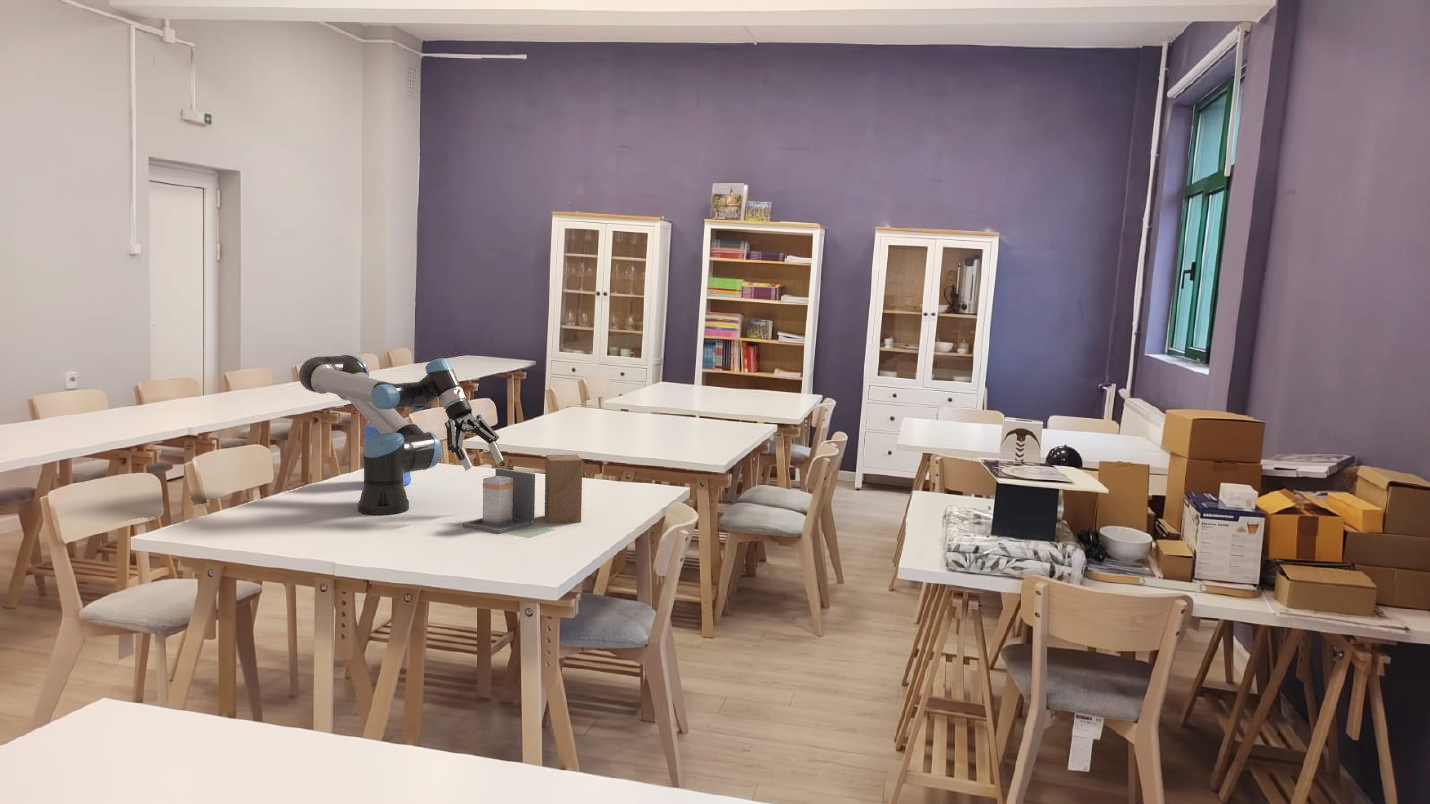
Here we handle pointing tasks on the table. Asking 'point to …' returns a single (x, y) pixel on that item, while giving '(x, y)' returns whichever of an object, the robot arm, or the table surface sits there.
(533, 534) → the sage board
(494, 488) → the block
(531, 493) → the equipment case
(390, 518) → the table surface
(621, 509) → the table surface
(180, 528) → the table surface
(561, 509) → the wooden block
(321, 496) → the table surface
